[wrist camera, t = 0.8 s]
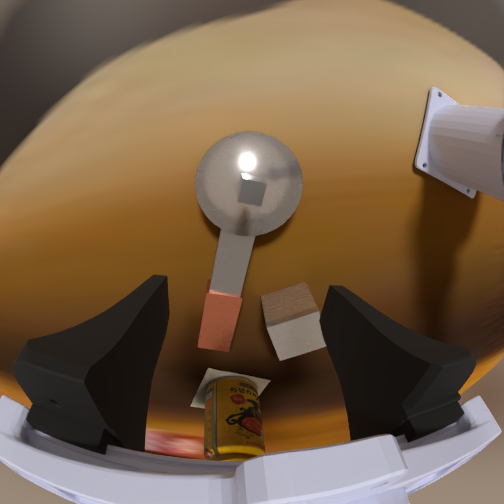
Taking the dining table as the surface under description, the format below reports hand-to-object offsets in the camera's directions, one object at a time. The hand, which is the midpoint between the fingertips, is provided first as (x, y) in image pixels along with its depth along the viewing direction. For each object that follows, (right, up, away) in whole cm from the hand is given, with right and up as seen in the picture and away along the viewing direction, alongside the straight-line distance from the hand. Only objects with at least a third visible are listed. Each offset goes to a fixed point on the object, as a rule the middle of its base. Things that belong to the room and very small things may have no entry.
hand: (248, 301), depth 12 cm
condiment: (-3, -15, +17) cm, 23 cm away
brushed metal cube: (+3, -3, +12) cm, 13 cm away
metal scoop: (-1, +2, +9) cm, 10 cm away
